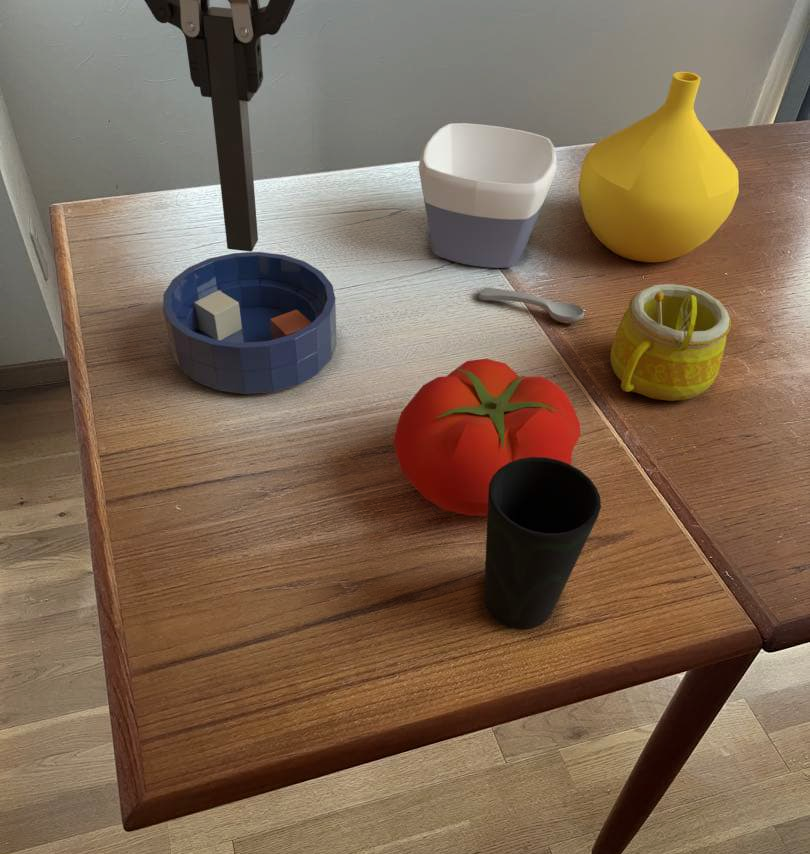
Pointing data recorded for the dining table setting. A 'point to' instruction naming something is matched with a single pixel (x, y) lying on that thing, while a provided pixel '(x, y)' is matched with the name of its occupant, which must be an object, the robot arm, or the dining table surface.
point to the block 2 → (288, 324)
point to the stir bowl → (252, 322)
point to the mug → (670, 342)
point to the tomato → (480, 431)
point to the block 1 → (218, 315)
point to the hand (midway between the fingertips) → (229, 94)
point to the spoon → (555, 309)
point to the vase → (659, 182)
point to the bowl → (484, 191)
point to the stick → (230, 132)
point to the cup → (534, 537)
